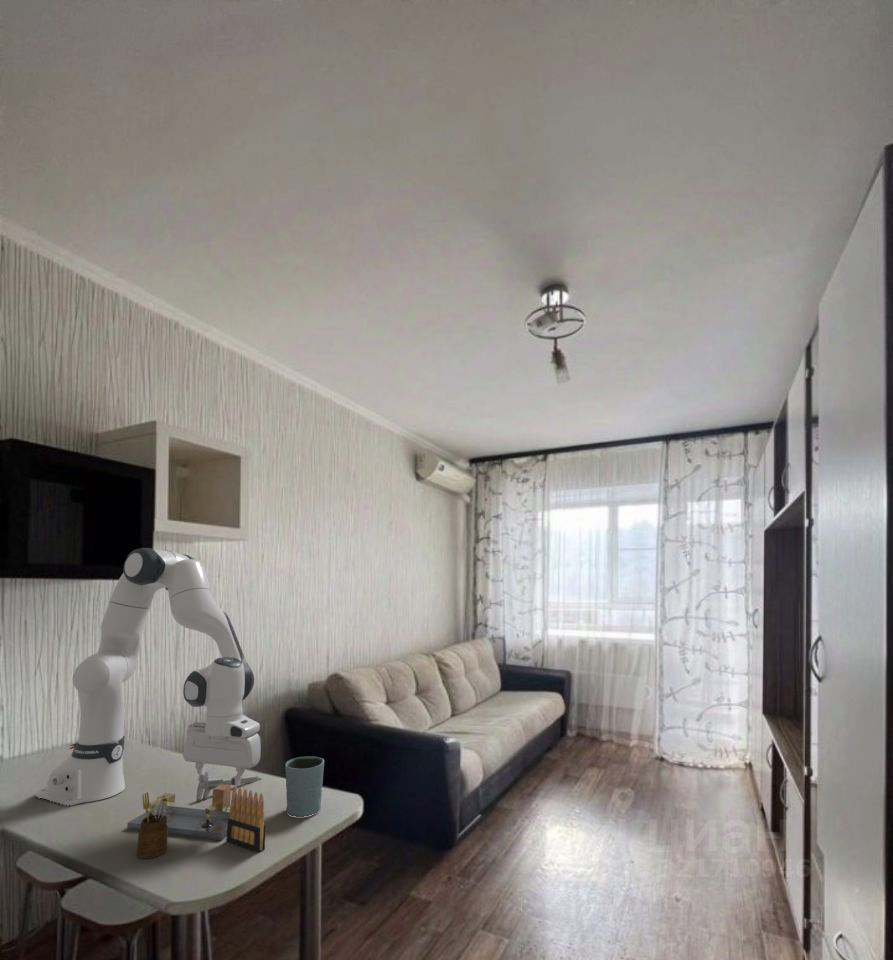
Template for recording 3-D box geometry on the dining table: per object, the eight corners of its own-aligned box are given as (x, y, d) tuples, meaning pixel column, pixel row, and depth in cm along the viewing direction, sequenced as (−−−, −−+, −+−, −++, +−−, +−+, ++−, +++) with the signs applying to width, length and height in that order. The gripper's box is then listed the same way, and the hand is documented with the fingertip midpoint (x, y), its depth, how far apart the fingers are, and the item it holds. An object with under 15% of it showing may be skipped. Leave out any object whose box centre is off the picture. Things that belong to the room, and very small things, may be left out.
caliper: (198, 803, 150) (200, 778, 151) (196, 802, 151) (197, 778, 152) (261, 780, 167) (262, 758, 168) (259, 779, 168) (260, 757, 169)
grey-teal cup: (299, 823, 138) (301, 771, 140) (274, 812, 144) (277, 763, 146) (331, 809, 146) (332, 760, 148) (306, 799, 152) (307, 753, 154)
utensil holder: (151, 861, 120) (155, 802, 122) (129, 856, 122) (133, 798, 124) (172, 848, 126) (176, 791, 127) (151, 844, 128) (155, 788, 130)
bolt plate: (127, 829, 135) (128, 807, 136) (156, 811, 145) (158, 791, 145) (221, 840, 129) (222, 817, 130) (246, 821, 139) (247, 800, 140)
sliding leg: (201, 823, 134) (202, 795, 135) (219, 811, 140) (220, 784, 141) (212, 824, 133) (213, 796, 134) (229, 812, 140) (230, 785, 141)
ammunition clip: (265, 849, 125) (267, 792, 127) (258, 853, 124) (261, 795, 125) (232, 838, 130) (235, 783, 132) (225, 842, 129) (228, 786, 131)
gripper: (180, 724, 141) (175, 782, 139) (251, 731, 136) (247, 791, 134) (196, 718, 147) (192, 774, 145) (265, 724, 142) (261, 782, 140)
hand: (219, 782), depth 139 cm, fingers open, 8 cm apart
